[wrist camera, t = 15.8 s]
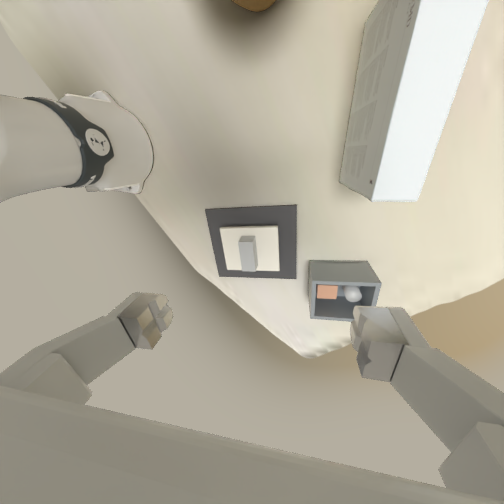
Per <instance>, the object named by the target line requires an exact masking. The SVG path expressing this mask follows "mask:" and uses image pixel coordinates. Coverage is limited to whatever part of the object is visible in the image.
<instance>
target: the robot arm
mask: <svg viewBox="0 0 504 504" xmlns="http://www.w3.org/2000/svg"><path fill="white" fill-rule="evenodd" d="M152 164H153V151H152V146H151V142H150V139H149V137H148V135H147V133H146V131H145V129H144V127H143V126H142V124H141V123H140V122H139V121H138V119H137V118H136V117H135V116H134V115H133V114H131V113H130V112H129V111H127V110H126V109H124V108H122V107H121V106H119V105H118V104H117V103H116V102H115V101H114V100H113V98H112V97H111V96H110V95H109V94H108V93H107V92H105V91H100V90H99V91H96V92H95V93H93V94H91V95H90V96H88V97H86V96H80V95H75V94H65V96H64V97H62V98H60V99H59V100H58V101H54V100H51V99H47V98H40V97H39V98H35V97H25V98H23V99H22V98H16V97H11V96H6V95H0V203H1V202H3V201H5V200H7V199H9V198H12V197H15V196H19V195H23V194H27V193H30V192H35V191H39V190H44V189H49V188H55V187H66V188H72V187H84V186H85V188H86V190H87V191H88V192H95V191H106V190H114V191H120V192H127V193H133V194H137V193H141V191H142V187H143V182H144V180H145V179H146V178H147V176H148V175H149V173H150V171H151V169H152ZM130 186H131V187H130ZM167 303H168V299H167V297H166V295H163V294H155V293H140V292H135V293H132V294H131V295H130V296H129V297H128V298H126V299H125V300H124V301H123V302H122V303H121V304H120V305H118V306H117V307H116V308H115V309H114V310H112V311H111V312H110V313H109V314H108V315H107V316H102V317H100V318H98V319H96V320H94V321H92V322H89V323H88V324H85V325H83V326H81V327H79V328H77V329H74V330H72V331H70V332H68V333H66V334H64V335H62V336H59V337H57V338H55V339H53V340H51V341H49V342H46V343H44V344H42V345H40V346H38V347H36V348H34V349H32V350H31V351H29V352H28V353H27V354H25V355H24V356H23V357H21V358H20V359H19V360H17V361H16V362H15V363H14V364H12V365H11V366H9V367H8V368H7V369H6V370H4V371H3V372H2V373H0V504H504V393H503V392H502V391H500V390H499V389H497V388H496V387H494V386H493V385H491V384H490V383H488V382H486V381H485V380H484V379H482V378H481V377H479V376H478V375H476V374H475V373H473V372H471V371H470V370H469V369H467V368H466V367H464V366H463V365H461V364H460V363H458V362H457V361H455V360H454V359H452V358H451V357H449V356H447V355H446V354H445V353H443V352H442V351H440V350H439V349H437V348H431V347H430V345H429V344H428V343H427V341H426V340H425V338H424V337H423V335H422V334H421V332H420V331H419V329H418V328H417V326H416V325H415V324H414V322H413V321H412V319H411V318H410V316H409V315H408V313H407V312H406V311H405V309H403V308H401V307H375V306H355V307H354V310H353V316H354V320H353V321H352V322H351V327H350V335H351V341H352V345H353V348H354V349H355V350H356V351H357V352H358V355H357V363H358V365H359V369H360V373H361V376H362V378H367V379H373V380H380V381H386V382H391V383H390V384H391V385H392V386H393V387H394V388H395V389H396V391H397V392H398V393H399V394H400V395H401V396H402V397H403V398H404V400H405V401H406V402H407V403H408V404H409V405H410V406H411V407H412V409H413V410H414V411H415V412H416V413H417V414H418V415H419V416H420V417H421V419H422V420H423V421H424V422H425V423H426V424H427V425H428V426H429V428H430V429H431V430H432V431H433V432H434V433H435V434H436V436H437V437H438V438H439V439H440V440H441V441H442V442H443V443H444V444H445V446H446V447H447V448H448V449H449V450H450V451H451V452H452V453H451V454H450V455H449V456H448V457H447V459H446V460H445V461H444V462H443V463H442V465H441V466H440V468H439V469H438V470H439V472H440V475H441V477H442V479H443V481H444V484H445V486H446V488H444V487H440V486H435V485H431V484H426V483H422V482H417V481H413V480H409V479H405V478H400V477H396V476H391V475H387V474H383V473H378V472H374V471H370V470H366V469H361V468H357V467H353V466H348V465H344V464H339V463H335V462H331V461H326V460H322V459H318V458H314V457H309V456H305V455H300V454H296V453H291V452H287V451H283V450H279V449H275V448H270V447H266V446H261V445H257V444H253V443H248V442H243V441H240V440H235V439H231V438H226V437H222V436H218V435H214V434H209V433H205V432H201V431H196V430H192V429H187V428H183V427H179V426H174V425H170V424H166V423H162V422H157V421H153V420H149V419H144V418H140V417H135V416H131V415H127V414H123V413H118V412H114V411H110V410H105V409H101V408H97V407H92V406H88V405H84V404H85V403H86V402H87V401H88V400H89V398H90V397H91V396H92V391H91V390H90V389H89V387H88V386H87V385H88V384H89V383H90V382H92V381H93V380H94V379H96V378H97V377H98V376H100V375H101V374H102V373H104V372H105V371H106V370H108V369H109V368H111V367H112V366H113V365H115V364H116V363H117V362H119V361H120V360H121V359H123V358H124V357H125V356H127V355H128V354H129V353H131V352H132V351H133V350H135V348H143V349H153V348H154V346H155V345H156V344H157V342H158V341H159V339H160V338H161V337H162V334H161V333H162V331H164V330H166V329H167V328H168V327H169V325H170V324H171V321H172V318H173V312H172V309H171V308H170V307H169V306H168V305H167Z"/></svg>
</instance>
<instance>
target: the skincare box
mask: <svg viewBox="0 0 504 504" xmlns="http://www.w3.org/2000/svg"><path fill="white" fill-rule="evenodd" d="M488 1H489V0H379V1H378V3H377V5H376V6H375V8H374V9H373V11H372V12H371V14H370V16H369V17H368V19H367V21H366V22H365V27H364V34H363V40H362V46H361V51H360V57H359V63H358V69H357V75H356V82H355V88H354V94H353V100H352V106H351V112H350V118H349V124H348V130H347V136H346V142H345V148H344V154H343V160H342V166H341V173H340V179H339V183H342V184H344V185H346V186H347V187H348V188H350V189H351V190H353V191H355V192H358V193H359V194H361V195H363V196H365V197H366V198H368V199H369V200H370V201H371V202H374V201H386V202H414V201H417V200H418V198H419V195H420V193H421V190H422V187H423V184H424V181H425V179H426V176H427V173H428V170H429V167H430V164H431V161H432V159H433V156H434V153H435V150H436V147H437V144H438V142H439V139H440V136H441V133H442V130H443V128H444V125H445V122H446V119H447V116H448V113H449V111H450V108H451V105H452V102H453V99H454V96H455V94H456V91H457V88H458V85H459V82H460V80H461V77H462V74H463V71H464V68H465V66H466V63H467V60H468V57H469V54H470V52H471V49H472V46H473V43H474V40H475V38H476V35H477V32H478V29H479V26H480V24H481V21H482V18H483V15H484V12H485V10H486V7H487V4H488Z"/></svg>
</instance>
